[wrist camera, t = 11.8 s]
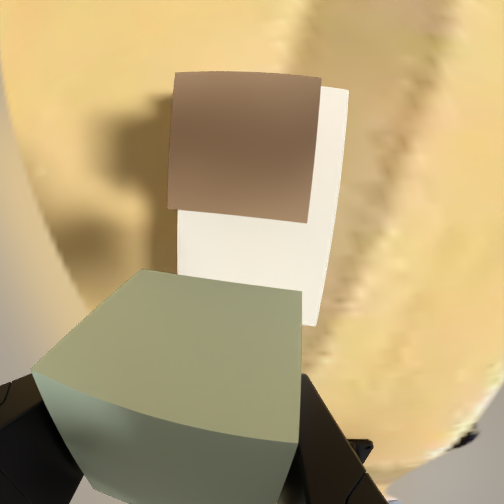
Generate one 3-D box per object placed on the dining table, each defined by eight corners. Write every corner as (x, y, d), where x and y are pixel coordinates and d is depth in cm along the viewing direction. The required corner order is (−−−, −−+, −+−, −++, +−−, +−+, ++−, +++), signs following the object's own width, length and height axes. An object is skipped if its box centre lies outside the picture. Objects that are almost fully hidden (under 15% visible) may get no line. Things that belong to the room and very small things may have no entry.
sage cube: (280, 408, 9) (263, 535, 5) (153, 384, 9) (93, 488, 5) (302, 291, 8) (298, 442, 3) (141, 268, 8) (30, 368, 4)
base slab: (314, 298, 18) (315, 326, 15) (195, 282, 19) (178, 306, 16) (339, 100, 14) (349, 90, 11) (204, 90, 15) (185, 79, 12)
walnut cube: (303, 198, 13) (307, 223, 9) (207, 188, 14) (167, 208, 9) (313, 100, 12) (321, 77, 7) (213, 94, 12) (175, 72, 8)
